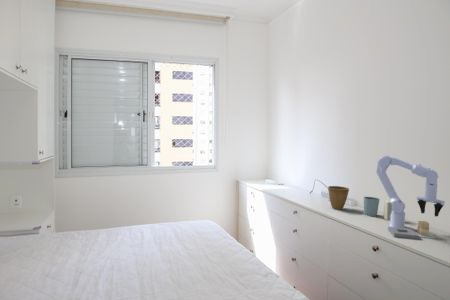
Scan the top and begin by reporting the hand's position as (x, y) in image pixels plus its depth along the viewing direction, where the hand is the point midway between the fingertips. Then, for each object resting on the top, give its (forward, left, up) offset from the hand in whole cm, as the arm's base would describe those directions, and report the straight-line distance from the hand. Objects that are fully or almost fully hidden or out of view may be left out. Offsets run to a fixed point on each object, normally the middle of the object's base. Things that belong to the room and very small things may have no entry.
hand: (429, 214), depth 185 cm
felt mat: (+8, -5, -10) cm, 14 cm away
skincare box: (-25, -15, -11) cm, 31 cm away
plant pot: (-46, -46, -11) cm, 66 cm away
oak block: (+8, -5, -10) cm, 14 cm away
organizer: (+10, -16, -10) cm, 22 cm away
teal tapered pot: (-34, -25, -11) cm, 43 cm away
